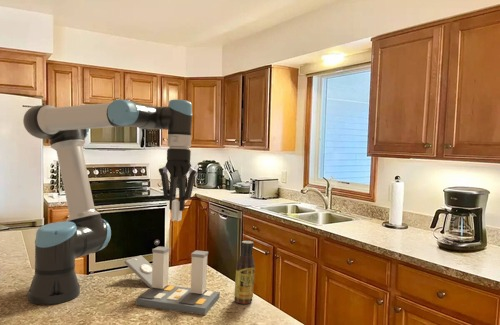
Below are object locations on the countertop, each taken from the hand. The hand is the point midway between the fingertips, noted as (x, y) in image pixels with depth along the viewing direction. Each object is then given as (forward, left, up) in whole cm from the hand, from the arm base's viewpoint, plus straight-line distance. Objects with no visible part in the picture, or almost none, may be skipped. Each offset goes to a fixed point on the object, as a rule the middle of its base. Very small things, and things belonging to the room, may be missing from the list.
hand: (176, 220), depth 121 cm
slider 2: (+7, +4, -24) cm, 25 cm away
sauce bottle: (+22, +7, -27) cm, 35 cm away
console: (+2, 0, -26) cm, 27 cm away
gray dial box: (-18, +13, -27) cm, 35 cm away
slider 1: (-7, +4, -24) cm, 25 cm away
